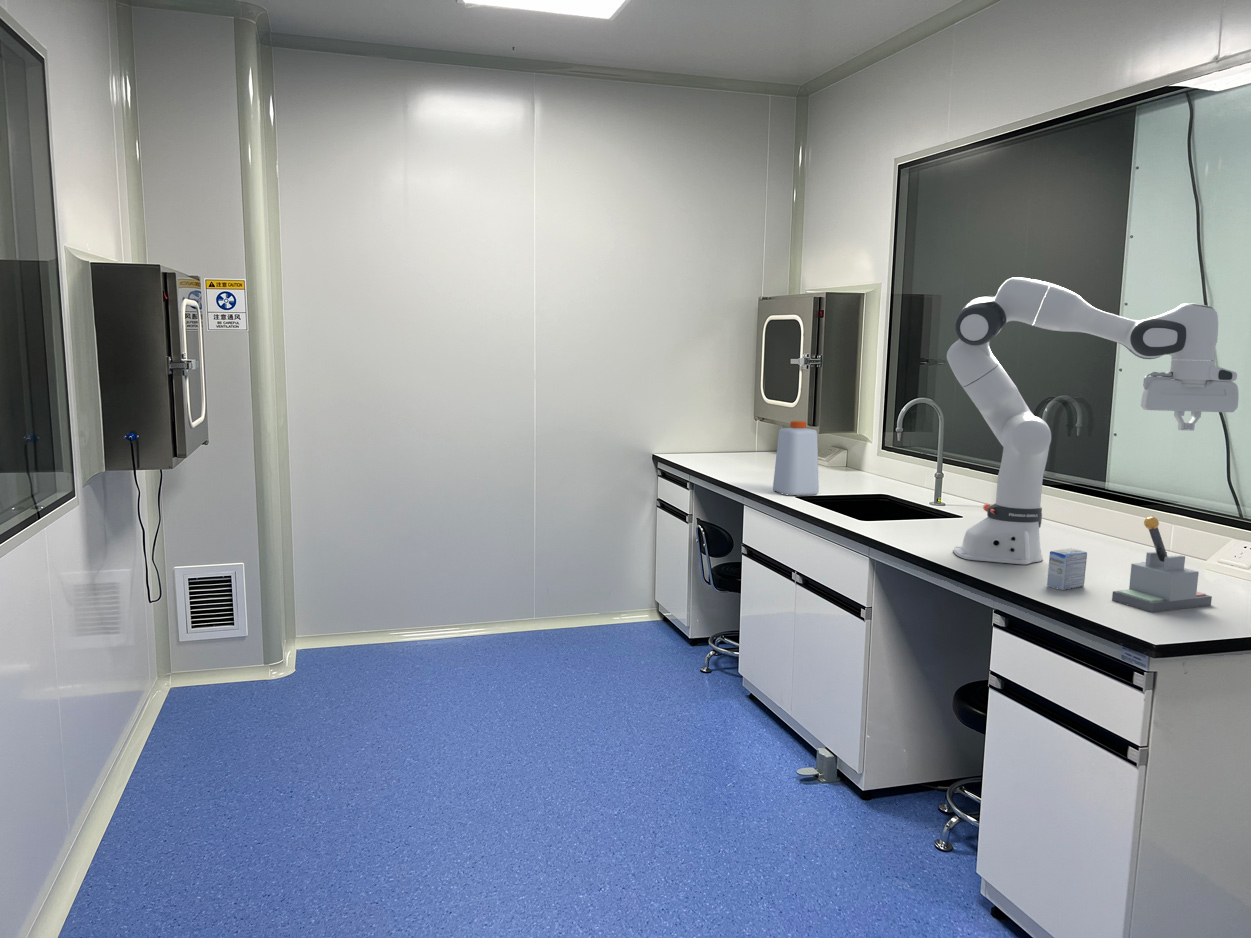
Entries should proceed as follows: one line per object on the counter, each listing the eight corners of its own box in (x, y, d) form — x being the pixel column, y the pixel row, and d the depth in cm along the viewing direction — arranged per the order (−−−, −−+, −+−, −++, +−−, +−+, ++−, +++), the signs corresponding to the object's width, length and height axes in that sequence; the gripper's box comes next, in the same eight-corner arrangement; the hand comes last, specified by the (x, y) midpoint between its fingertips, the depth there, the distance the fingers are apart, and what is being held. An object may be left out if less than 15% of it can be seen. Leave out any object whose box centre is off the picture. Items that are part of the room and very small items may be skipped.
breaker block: (1169, 593, 205) (1173, 547, 203) (1210, 605, 196) (1216, 556, 194) (1111, 599, 198) (1116, 552, 197) (1152, 612, 189) (1157, 562, 188)
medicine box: (1067, 582, 213) (1070, 547, 212) (1084, 587, 209) (1087, 551, 208) (1046, 586, 210) (1049, 550, 208) (1063, 591, 206) (1066, 554, 205)
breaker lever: (1162, 556, 197) (1148, 513, 194) (1174, 559, 195) (1159, 515, 191) (1154, 563, 197) (1139, 520, 193) (1165, 565, 194) (1151, 522, 191)
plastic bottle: (787, 497, 334) (790, 423, 330) (768, 490, 348) (771, 420, 344) (822, 495, 339) (826, 422, 335) (802, 489, 353) (805, 419, 349)
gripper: (1150, 371, 209) (1144, 430, 210) (1245, 373, 205) (1238, 432, 207) (1139, 371, 215) (1134, 427, 217) (1231, 373, 211) (1225, 430, 213)
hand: (1185, 430), depth 212 cm, fingers closed
